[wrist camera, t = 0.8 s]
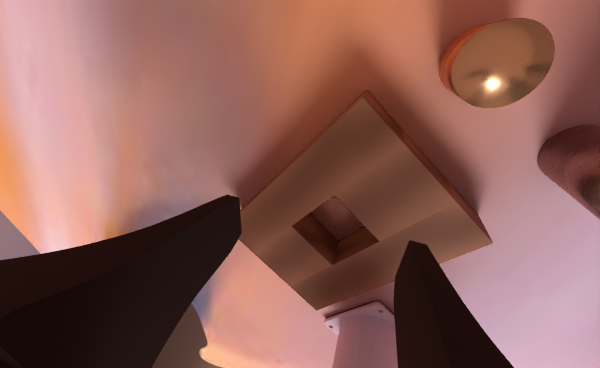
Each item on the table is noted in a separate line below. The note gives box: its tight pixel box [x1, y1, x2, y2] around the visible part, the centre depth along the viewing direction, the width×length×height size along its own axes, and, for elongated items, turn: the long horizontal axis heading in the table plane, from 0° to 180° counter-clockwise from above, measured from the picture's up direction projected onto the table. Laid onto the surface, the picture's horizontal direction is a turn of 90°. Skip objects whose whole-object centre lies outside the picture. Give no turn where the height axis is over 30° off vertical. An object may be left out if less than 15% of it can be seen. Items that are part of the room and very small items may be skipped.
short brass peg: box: [439, 18, 555, 108], centre depth 12 cm, size 3×3×4 cm
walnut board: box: [239, 90, 493, 310], centre depth 20 cm, size 12×16×3 cm
